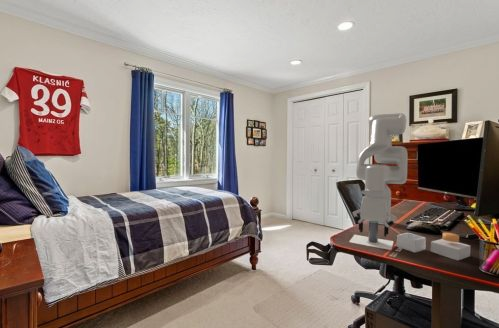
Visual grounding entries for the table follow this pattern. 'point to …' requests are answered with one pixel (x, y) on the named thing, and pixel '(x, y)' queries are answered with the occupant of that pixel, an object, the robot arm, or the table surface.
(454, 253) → the button box
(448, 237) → the button
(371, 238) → the marker
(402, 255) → the table surface
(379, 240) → the paper
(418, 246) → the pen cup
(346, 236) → the table surface
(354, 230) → the table surface
